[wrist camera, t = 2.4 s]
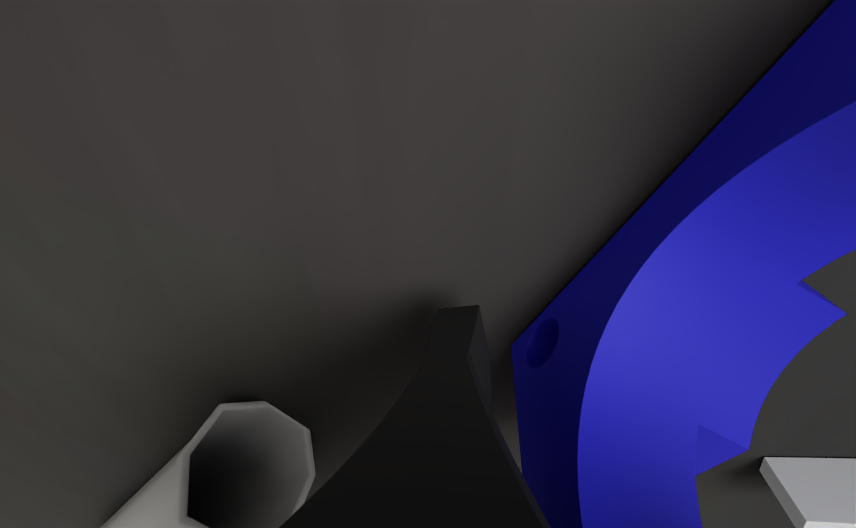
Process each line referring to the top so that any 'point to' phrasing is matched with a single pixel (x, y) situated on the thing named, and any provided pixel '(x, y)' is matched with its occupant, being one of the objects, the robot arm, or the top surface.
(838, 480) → the bracket
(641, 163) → the top surface
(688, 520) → the cable clip
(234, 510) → the tube
